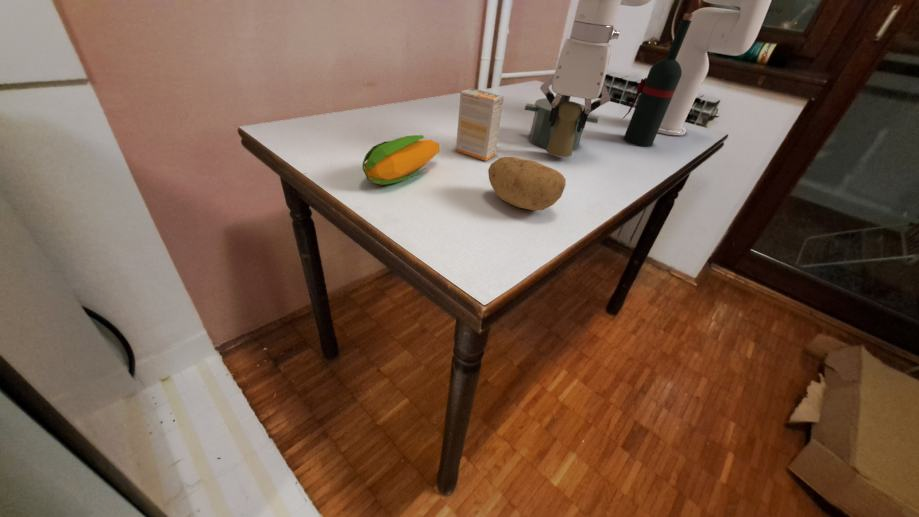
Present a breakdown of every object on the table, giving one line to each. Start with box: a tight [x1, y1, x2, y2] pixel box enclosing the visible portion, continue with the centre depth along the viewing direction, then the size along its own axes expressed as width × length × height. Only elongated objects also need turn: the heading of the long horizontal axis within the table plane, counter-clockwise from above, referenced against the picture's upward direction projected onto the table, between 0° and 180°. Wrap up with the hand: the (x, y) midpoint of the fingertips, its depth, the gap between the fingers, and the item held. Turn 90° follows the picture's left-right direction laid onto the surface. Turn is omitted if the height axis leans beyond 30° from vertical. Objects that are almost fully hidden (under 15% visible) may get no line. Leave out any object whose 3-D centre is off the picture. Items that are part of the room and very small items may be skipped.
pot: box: [524, 103, 599, 151], centre depth 93 cm, size 13×18×8 cm
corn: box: [361, 134, 441, 186], centre depth 69 cm, size 7×8×20 cm
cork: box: [545, 101, 582, 158], centre depth 82 cm, size 6×6×11 cm
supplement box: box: [455, 87, 505, 162], centre depth 80 cm, size 8×5×13 cm, turn 57°
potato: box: [487, 156, 567, 211], centre depth 64 cm, size 10×14×8 cm
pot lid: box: [534, 95, 591, 117], centre depth 89 cm, size 14×14×5 cm
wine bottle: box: [620, 12, 694, 148], centre depth 93 cm, size 8×10×30 cm
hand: (565, 126), depth 82 cm, fingers closed on cork, 5 cm apart
